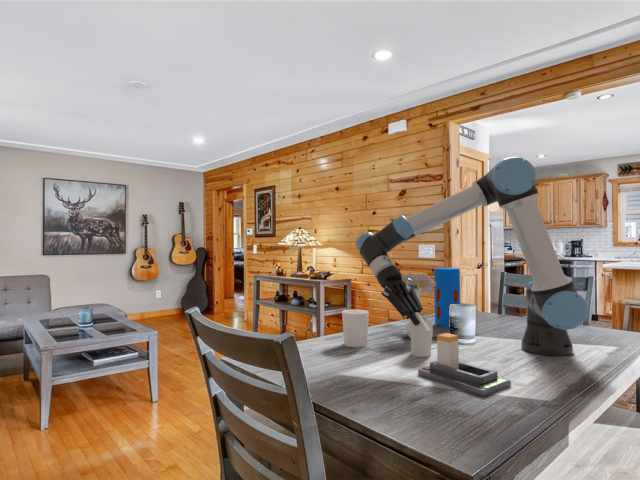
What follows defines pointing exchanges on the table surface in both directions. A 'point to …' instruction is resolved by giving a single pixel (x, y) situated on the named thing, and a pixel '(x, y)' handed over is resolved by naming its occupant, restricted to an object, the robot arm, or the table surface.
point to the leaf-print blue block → (445, 293)
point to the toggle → (448, 350)
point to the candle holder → (355, 327)
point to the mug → (421, 340)
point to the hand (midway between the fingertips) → (426, 333)
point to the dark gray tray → (466, 378)
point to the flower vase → (417, 290)
